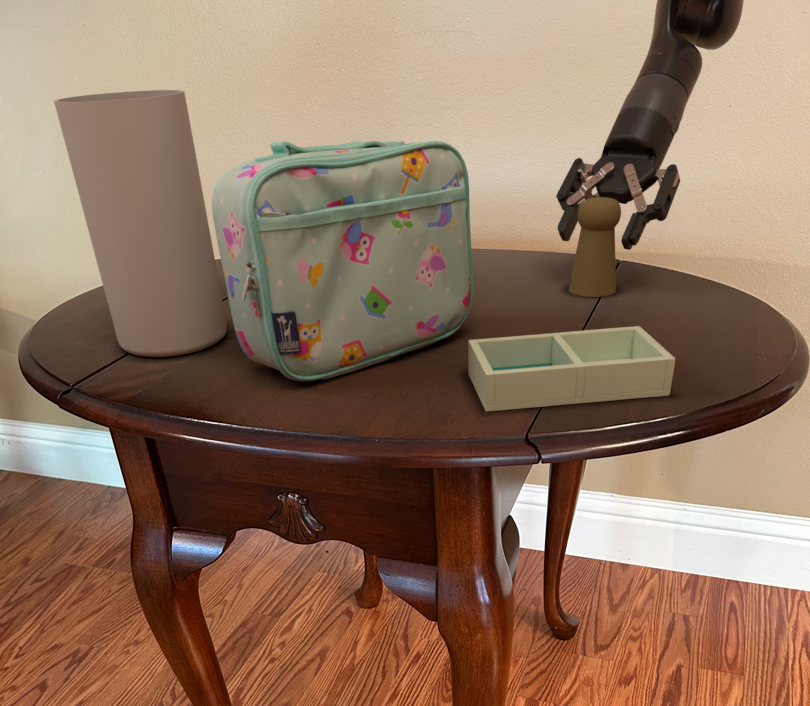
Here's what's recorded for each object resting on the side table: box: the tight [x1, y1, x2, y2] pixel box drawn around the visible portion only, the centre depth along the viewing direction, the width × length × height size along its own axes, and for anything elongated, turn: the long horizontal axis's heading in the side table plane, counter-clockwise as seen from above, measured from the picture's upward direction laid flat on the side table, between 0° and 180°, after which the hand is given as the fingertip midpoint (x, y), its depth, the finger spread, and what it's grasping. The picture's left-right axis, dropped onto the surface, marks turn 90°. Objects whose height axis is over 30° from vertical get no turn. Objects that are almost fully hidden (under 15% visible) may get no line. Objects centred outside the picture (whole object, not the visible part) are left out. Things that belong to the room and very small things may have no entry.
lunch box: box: [211, 140, 474, 382], centre depth 77 cm, size 27×10×21 cm, turn 126°
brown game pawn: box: [568, 197, 622, 298], centre depth 95 cm, size 6×6×11 cm
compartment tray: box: [467, 325, 676, 412], centre depth 73 cm, size 17×9×4 cm, turn 96°
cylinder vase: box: [53, 89, 228, 358], centre depth 83 cm, size 12×12×25 cm
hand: (593, 241), depth 95 cm, fingers open, 8 cm apart
